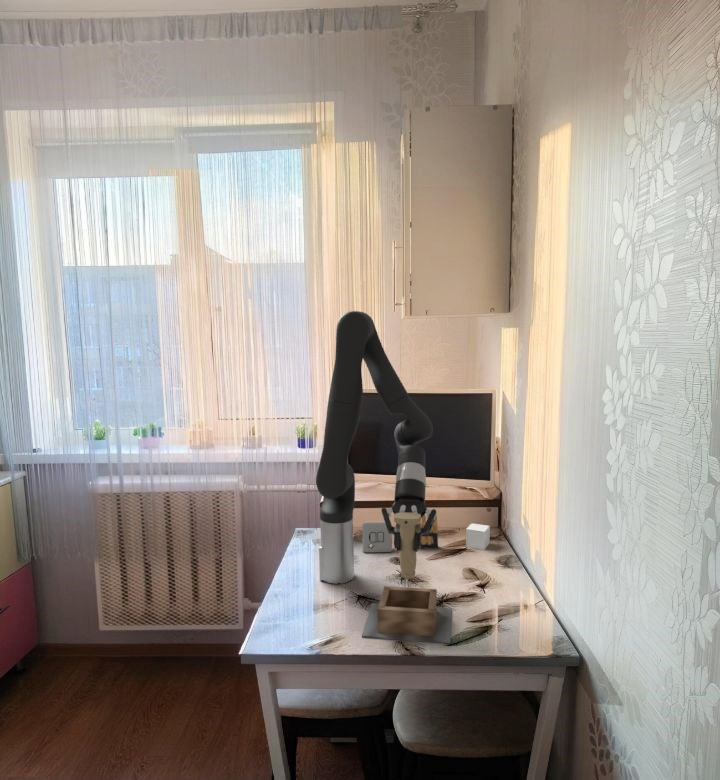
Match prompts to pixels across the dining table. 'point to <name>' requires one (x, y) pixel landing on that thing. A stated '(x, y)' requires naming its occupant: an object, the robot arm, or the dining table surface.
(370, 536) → the electrical switch
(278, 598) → the dining table surface
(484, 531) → the white cube
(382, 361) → the robot arm
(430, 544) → the ammunition clip
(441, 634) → the socket holder
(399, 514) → the handle
